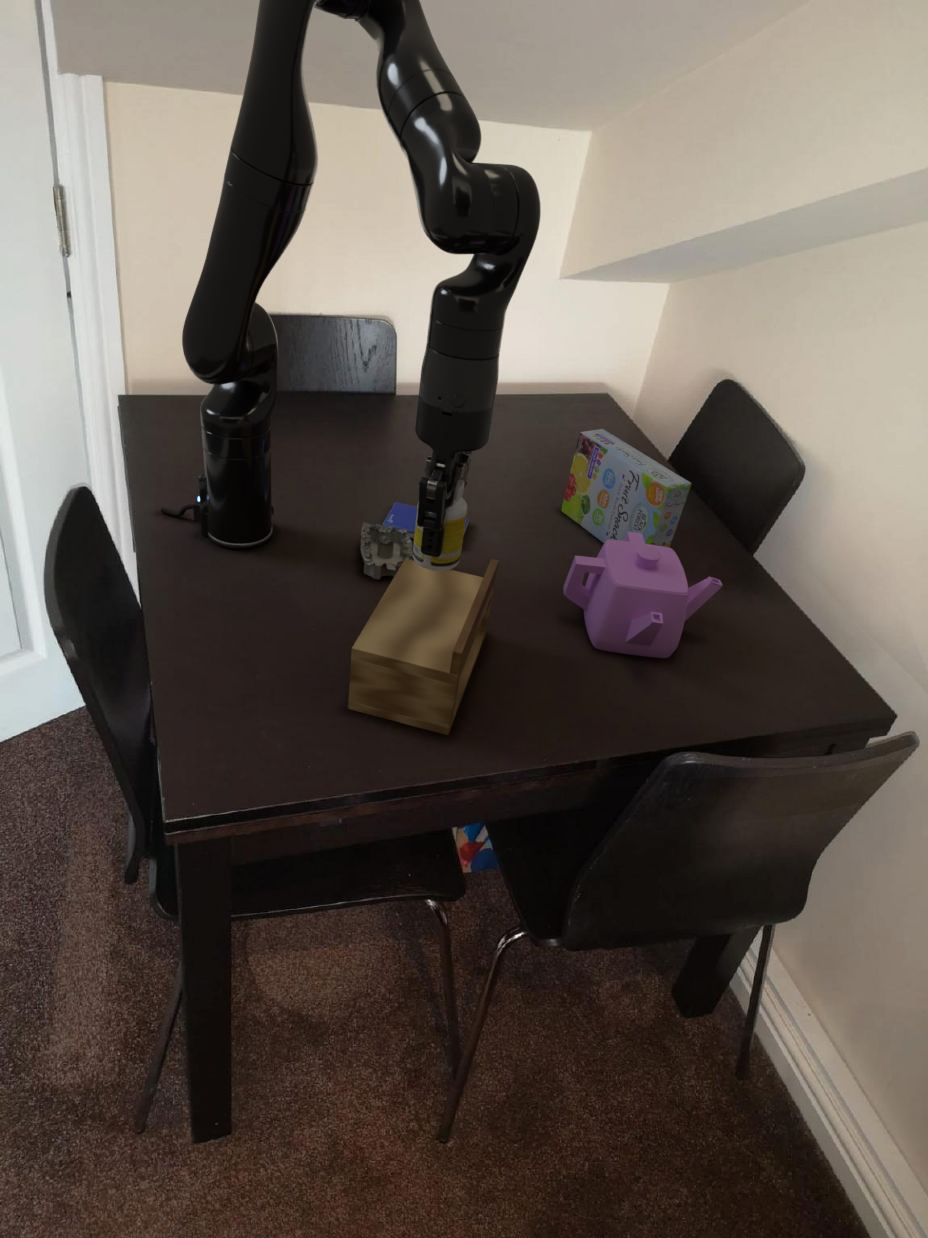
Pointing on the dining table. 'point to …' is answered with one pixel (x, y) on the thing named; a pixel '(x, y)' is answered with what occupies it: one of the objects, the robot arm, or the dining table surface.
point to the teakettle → (635, 597)
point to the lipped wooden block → (421, 646)
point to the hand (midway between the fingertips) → (438, 540)
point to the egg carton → (384, 549)
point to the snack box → (622, 491)
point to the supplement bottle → (445, 537)
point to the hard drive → (405, 518)
